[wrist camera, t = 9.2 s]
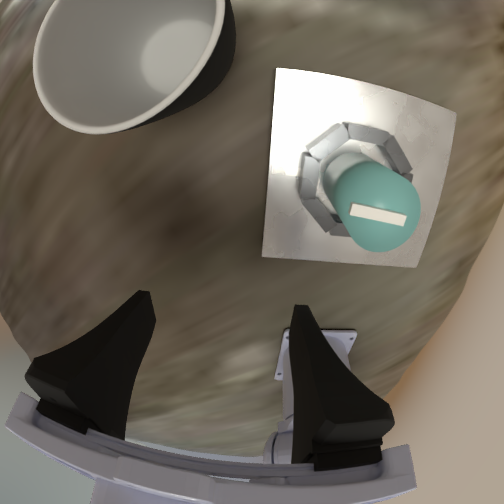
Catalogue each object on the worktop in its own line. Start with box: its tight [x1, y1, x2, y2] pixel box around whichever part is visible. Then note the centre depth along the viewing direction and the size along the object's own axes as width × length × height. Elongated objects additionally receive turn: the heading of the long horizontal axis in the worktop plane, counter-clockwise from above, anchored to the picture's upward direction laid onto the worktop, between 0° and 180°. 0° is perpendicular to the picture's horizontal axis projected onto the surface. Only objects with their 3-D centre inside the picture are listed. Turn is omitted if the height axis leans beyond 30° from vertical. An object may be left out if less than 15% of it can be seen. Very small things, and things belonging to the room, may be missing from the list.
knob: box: [324, 152, 421, 252], centre depth 15 cm, size 4×4×6 cm
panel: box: [262, 68, 457, 268], centre depth 18 cm, size 14×14×3 cm
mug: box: [33, 0, 236, 134], centre depth 11 cm, size 12×9×10 cm
